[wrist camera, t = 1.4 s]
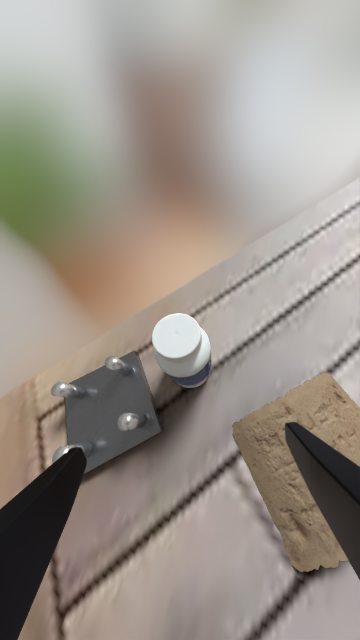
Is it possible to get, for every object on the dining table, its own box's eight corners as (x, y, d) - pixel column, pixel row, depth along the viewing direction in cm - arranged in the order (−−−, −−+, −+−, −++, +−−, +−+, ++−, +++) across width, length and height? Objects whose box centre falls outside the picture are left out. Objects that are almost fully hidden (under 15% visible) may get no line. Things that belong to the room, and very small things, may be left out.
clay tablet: (288, 571, 13) (304, 603, 11) (218, 428, 18) (219, 430, 16) (432, 474, 14) (474, 485, 12) (327, 367, 19) (343, 360, 17)
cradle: (163, 430, 18) (150, 434, 14) (78, 477, 18) (38, 495, 14) (137, 353, 24) (122, 340, 20) (71, 387, 23) (40, 380, 19)
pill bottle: (219, 376, 20) (223, 348, 12) (179, 396, 20) (155, 380, 12) (199, 340, 23) (192, 296, 15) (164, 356, 23) (136, 321, 14)
